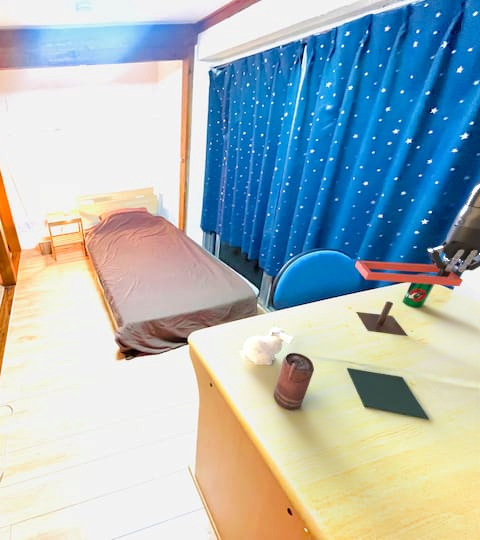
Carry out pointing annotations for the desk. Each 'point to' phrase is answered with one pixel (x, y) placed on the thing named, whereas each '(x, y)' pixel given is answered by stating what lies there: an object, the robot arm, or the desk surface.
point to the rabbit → (264, 347)
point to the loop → (368, 275)
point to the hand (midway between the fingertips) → (444, 281)
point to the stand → (381, 321)
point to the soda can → (417, 294)
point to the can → (293, 381)
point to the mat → (386, 393)
